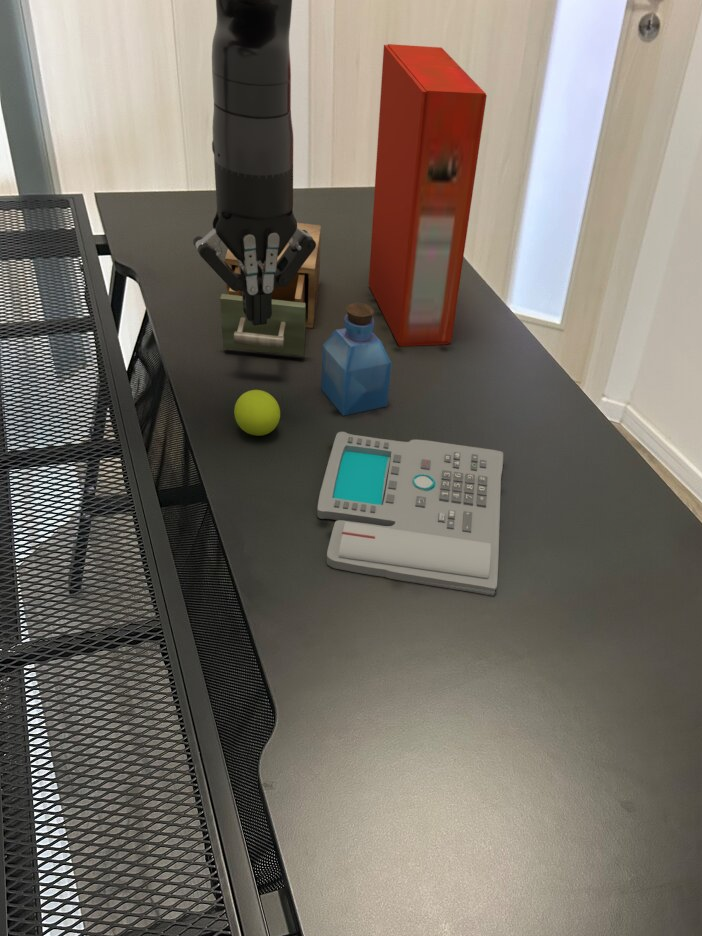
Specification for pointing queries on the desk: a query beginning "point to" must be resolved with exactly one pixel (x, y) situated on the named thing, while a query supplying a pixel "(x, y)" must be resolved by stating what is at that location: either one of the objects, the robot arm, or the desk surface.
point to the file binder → (423, 190)
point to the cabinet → (300, 271)
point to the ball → (257, 412)
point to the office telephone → (414, 511)
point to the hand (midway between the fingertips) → (257, 321)
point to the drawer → (268, 320)
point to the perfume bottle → (356, 364)
